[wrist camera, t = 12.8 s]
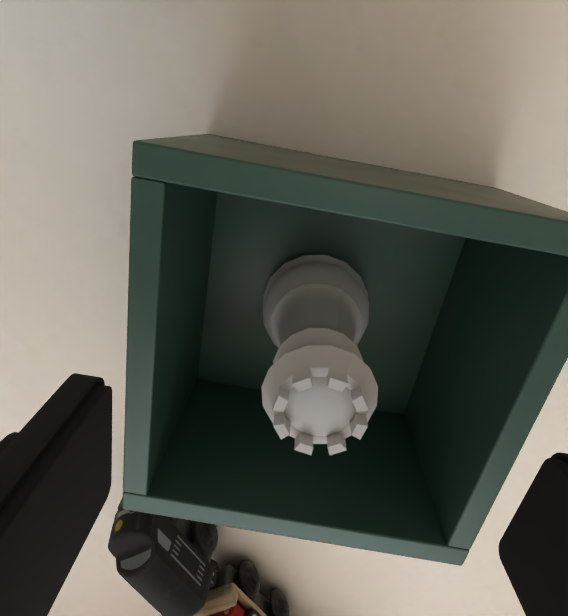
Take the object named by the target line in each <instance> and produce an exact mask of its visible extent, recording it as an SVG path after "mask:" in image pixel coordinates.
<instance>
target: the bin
mask: <svg viewBox="0 0 568 616" xmlns="http://www.w3.org/2000/svg"><path fill="white" fill-rule="evenodd" d="M132 174H133V176H134V177H132V179H131V215H130V252H129V289H128V326H127V362H126V399H125V436H124V473H123V509H126V510H132V511H138V512H144V513H150V514H156V515H162V516H168V517H174V518H180V519H186V520H192V521H198V522H204V523H210V524H216V525H222V526H228V527H234V528H240V529H246V530H252V531H258V532H264V533H269V534H275V535H281V536H287V537H293V538H299V539H305V540H311V541H317V542H323V543H329V544H335V545H341V546H347V547H353V548H359V549H365V550H371V551H377V552H383V553H389V554H395V555H401V556H407V557H413V558H419V559H425V560H431V561H437V562H443V563H449V564H454V565H462V564H463V563H464V561H465V559H466V557H467V555H468V553H469V549H470V548H471V546H472V544H473V542H474V540H475V538H476V536H477V534H478V533H479V531H480V529H481V527H482V525H483V523H484V521H485V519H486V517H487V515H488V513H489V511H490V509H491V507H492V505H493V503H494V501H495V499H496V497H497V495H498V493H499V491H500V489H501V487H502V485H503V483H504V481H505V479H506V477H507V476H508V474H509V472H510V470H511V468H512V466H513V464H514V462H515V460H516V458H517V456H518V454H519V452H520V450H521V448H522V446H523V444H524V442H525V440H526V438H527V436H528V434H529V432H530V430H531V428H532V426H533V424H534V422H535V420H536V419H537V417H538V415H539V413H540V411H541V409H542V407H543V405H544V403H545V401H546V399H547V397H548V395H549V393H550V391H551V389H552V387H553V385H554V383H555V381H556V379H557V377H558V375H559V373H560V371H561V369H562V367H563V365H564V363H565V362H566V360H567V358H568V212H566V211H563V210H560V209H557V208H554V207H551V206H548V205H545V204H542V203H539V202H536V201H533V200H530V199H527V198H524V197H521V196H518V195H515V194H512V193H509V192H506V191H503V190H501V189H498V188H493V187H488V186H483V185H477V184H472V183H467V182H461V181H456V180H451V179H445V178H440V177H435V176H429V175H424V174H419V173H413V172H408V171H403V170H397V169H392V168H387V167H381V166H376V165H371V164H365V163H360V162H355V161H349V160H344V159H339V158H333V157H328V156H323V155H317V154H312V153H307V152H301V151H296V150H291V149H285V148H280V147H275V146H269V145H264V144H259V143H253V142H248V141H243V140H237V139H232V138H227V137H221V136H216V135H211V134H202V135H191V136H180V137H169V138H158V139H147V140H136V141H134V142H133V155H132ZM303 255H328V256H330V257H333V258H336V259H338V260H341V261H344V262H346V263H347V264H348V265H349V266H350V267H351V268H352V269H353V270H354V271H355V272H356V273H358V274H359V275H360V276H361V279H362V281H363V283H364V286H365V288H366V291H367V293H368V301H369V322H368V325H367V328H366V330H365V331H364V333H363V335H362V337H361V339H360V341H359V343H358V344H357V347H358V349H359V352H360V354H361V356H362V358H363V362H364V363H365V364H366V365H367V366H368V367H370V369H371V371H372V374H373V376H374V378H375V381H376V383H377V385H378V396H377V407H376V408H375V410H374V412H373V414H372V415H371V417H370V419H369V421H368V422H367V423H368V427H367V429H366V431H365V432H364V434H363V436H362V438H361V440H359V439H358V438H356V437H354V436H352V435H351V436H349V437H347V438H346V439H345V440H346V448H347V450H346V451H343V452H340V453H336V454H333V455H329V451H328V447H327V444H313V451H312V455H308V454H305V453H302V452H299V451H296V450H294V447H295V438H293V437H291V436H287V437H285V438H283V439H280V437H279V435H278V434H277V432H276V430H275V428H274V427H273V423H272V421H271V420H270V418H269V416H268V414H267V413H266V411H265V409H264V407H263V403H262V389H261V387H262V384H263V382H264V379H265V377H266V375H267V372H268V370H269V368H270V367H271V366H272V365H273V360H274V358H275V355H276V353H277V351H278V347H277V346H276V345H274V343H273V341H272V340H271V338H270V336H269V334H268V332H267V330H266V328H265V326H264V322H263V306H262V305H263V295H264V292H265V289H266V287H267V284H268V281H269V279H270V277H271V276H272V275H273V274H274V273H275V272H276V271H277V270H278V269H279V268H280V267H281V266H282V265H283V264H284V263H287V262H289V261H291V260H294V259H296V258H298V257H301V256H303Z"/></svg>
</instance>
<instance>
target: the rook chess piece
mask: <svg viewBox="0 0 568 616" xmlns="http://www.w3.org/2000/svg"><path fill="white" fill-rule="evenodd" d="M262 306H263V322H264V326H265V328H266V330H267V332H268V334H269V336H270V338H271V340H272V341H273V343H274V345H276V346H277V347H278V351H277V353H276V355H275V358H274V360H273V365H272V366H271V367H270V368H269V370H268V372H267V375H266V377H265V379H264V382H263V384H262V387H261V389H262V403H263V407H264V409H265V411H266V413H267V414H268V416H269V418H270V420H271V421H272V423H273V427H274V428H275V430H276V432H277V434H278V435H279V437H280V439H283V438H285V437H287V436H291V437H293V438H295V447H294V450H296V451H299V452H302V453H305V454H308V455H312V451H313V444H327V447H328V451H329V455H333V454H336V453H340V452H343V451H346V450H347V448H346V440H345V439H346V438H347V437H349V436H351V435H352V436H354V437H356V438H358V439H359V440H361V438H362V436H363V434H364V432H365V431H366V429H367V427H368V423H367V422H368V421H369V419H370V417H371V415H372V414H373V412H374V410H375V408H376V407H377V396H378V385H377V383H376V381H375V378H374V376H373V374H372V371H371V369H370V367H368V366H367V365H366V364H365V363H364V362H363V358H362V356H361V354H360V352H359V349H358V347H357V344H358V343H359V341H360V339H361V337H362V335H363V333H364V331H365V330H366V328H367V325H368V322H369V301H368V293H367V291H366V288H365V286H364V283H363V281H362V279H361V276H360V275H359V274H358V273H356V272H355V271H354V270H353V269H352V268H351V267H350V266H349V265H348V264H347V263H346V262H344V261H341V260H338V259H336V258H333V257H330V256H328V255H303V256H301V257H298V258H296V259H294V260H291V261H289V262H287V263H284V264H283V265H282V266H281V267H280V268H279V269H278V270H277V271H276V272H275V273H274V274H273V275H272V276H271V277H270V279H269V281H268V284H267V287H266V289H265V292H264V295H263V305H262Z"/></svg>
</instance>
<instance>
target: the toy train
mask: <svg viewBox="0 0 568 616" xmlns="http://www.w3.org/2000/svg"><path fill="white" fill-rule="evenodd" d="M217 541H218V535H217V529H216V526H215V524H210V523H204V522H198V521H194V523H193V522H192V521H191V520H186V519H180V518H174V517H168V516H162V515H156V514H150V513H144V512H138V511H132V510H126V509H123V498H122V500H121V502H120V504H119V506H118V511H117V513H116V515H115V519H114V523H113V527H112V530H111V535H110V539H109V543H108V549H109V551H110V552H111V553H112V555H113V556H114V557H115V558H116V565H117V571H118V573H119V574H120V575H121V576H122V577H123V578H124V579H125V580H126V581H127V582H128V583H129V584H130V585H131V586H132V587H133V588H134V589H135V590H136V591H137V592H138V593H140V594H141V595H142V596H143V597H144V598H145V599H146V600H147V601H148V602H149V603H150V604H151V605H152V606H153V607H154V608H155V609H156V610H157V611H158V612H160V613H161V615H162V616H289V606H288V603H287V601H286V598H285V596H284V595H283V593H282V592H281V591H280V590H278V589H274V590H272V592H271V593H270V598H269V601H270V602H269V601H267V600H266V599H265V598H264V597H263V596H262V595H261V594H260V593H259V590H260V582H259V576H258V573H257V570H256V569H255V567H254V565H253V564H251V563H250V562H249V561H243V562H242V563H241V564H240V566H239V572H238V571H236V570H235V569H234V568H233V567H232V566H231V565H225V566H223V567H220V568H219V566H218V564H217V563H216V562H215V561H214V560H212V559H211V555H212V552H213V551H214V550H215V548H216V545H217Z"/></svg>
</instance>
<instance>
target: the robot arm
mask: <svg viewBox="0 0 568 616" xmlns="http://www.w3.org/2000/svg"><path fill="white" fill-rule="evenodd" d="M111 465H112V388H111V387H110V386H105V384H104V380H103V379H102V378H100V377H94V376H88V375H82V374H72V375H71V376H70V377H69V378H68V379H67V380H66V381H65V382H64V383H63V384H62V385H61V386H60V388H59V389H58V390H57V391H56V392H55V393H54V394H53V395H52V396H51V398H50V399H49V400H48V401H47V402H46V403H45V404H44V405H43V406H42V408H41V409H40V410H39V411H38V412H37V413H36V414H35V415H34V416H33V418H32V419H31V420H30V421H29V422H28V423H27V424H26V425H25V426H24V428H23V429H22V430H21V431H20V432H19V433H17V432H14V433H11V434H9V435H7V436H6V437H5V438H4V439H3V440H2V441H1V442H0V616H47V615H48V613H49V611H50V609H51V607H52V605H53V603H54V601H55V599H56V597H57V595H58V593H59V591H60V589H61V587H62V585H63V583H64V582H65V580H66V578H67V576H68V574H69V572H70V570H71V568H72V566H73V564H74V562H75V560H76V558H77V556H78V554H79V552H80V550H81V548H82V546H83V544H84V542H85V540H86V538H87V537H88V535H89V533H90V531H91V529H92V527H93V525H94V523H95V521H96V519H97V517H98V515H99V513H100V511H101V509H102V507H103V505H104V503H105V501H106V499H107V497H108V494H109V491H110V487H111ZM499 555H500V559H501V562H502V564H503V566H504V568H505V570H506V573H507V575H508V577H509V579H510V581H511V584H512V586H513V588H514V590H515V592H516V594H517V597H518V599H519V601H520V603H521V605H522V608H523V610H524V612H525V614H526V616H568V454H566V453H556V454H554V455H553V456H552V457H551V458H548V459H546V460H545V461H544V463H543V464H542V466H541V468H540V470H539V472H538V473H537V475H536V477H535V479H534V481H533V482H532V484H531V486H530V488H529V490H528V491H527V493H526V495H525V497H524V499H523V500H522V502H521V504H520V506H519V508H518V510H517V511H516V513H515V515H514V517H513V519H512V520H511V522H510V524H509V526H508V528H507V529H506V531H505V533H504V535H503V537H502V538H501V540H500V543H499Z"/></svg>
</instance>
